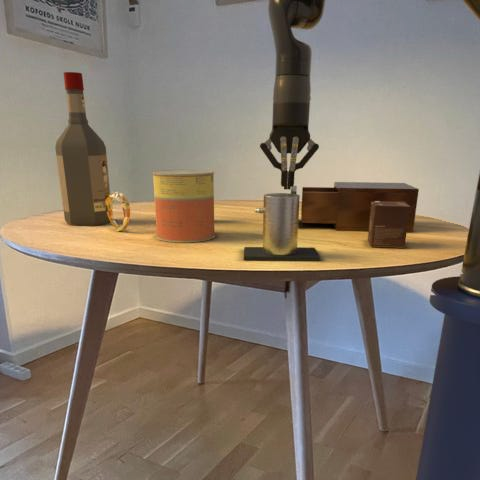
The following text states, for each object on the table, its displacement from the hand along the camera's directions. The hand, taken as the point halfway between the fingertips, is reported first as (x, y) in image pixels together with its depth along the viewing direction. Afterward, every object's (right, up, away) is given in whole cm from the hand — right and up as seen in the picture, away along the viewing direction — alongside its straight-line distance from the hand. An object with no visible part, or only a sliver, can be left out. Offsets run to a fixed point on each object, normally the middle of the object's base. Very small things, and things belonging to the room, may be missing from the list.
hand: (287, 189), depth 102 cm
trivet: (-4, -18, -25) cm, 31 cm away
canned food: (-21, -13, -11) cm, 27 cm away
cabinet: (+18, -8, +1) cm, 20 cm away
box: (+16, -15, -17) cm, 28 cm away
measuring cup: (-4, -17, -26) cm, 31 cm away
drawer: (+6, -6, +2) cm, 9 cm away
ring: (-35, -11, -6) cm, 37 cm away
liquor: (-44, -7, +4) cm, 45 cm away
